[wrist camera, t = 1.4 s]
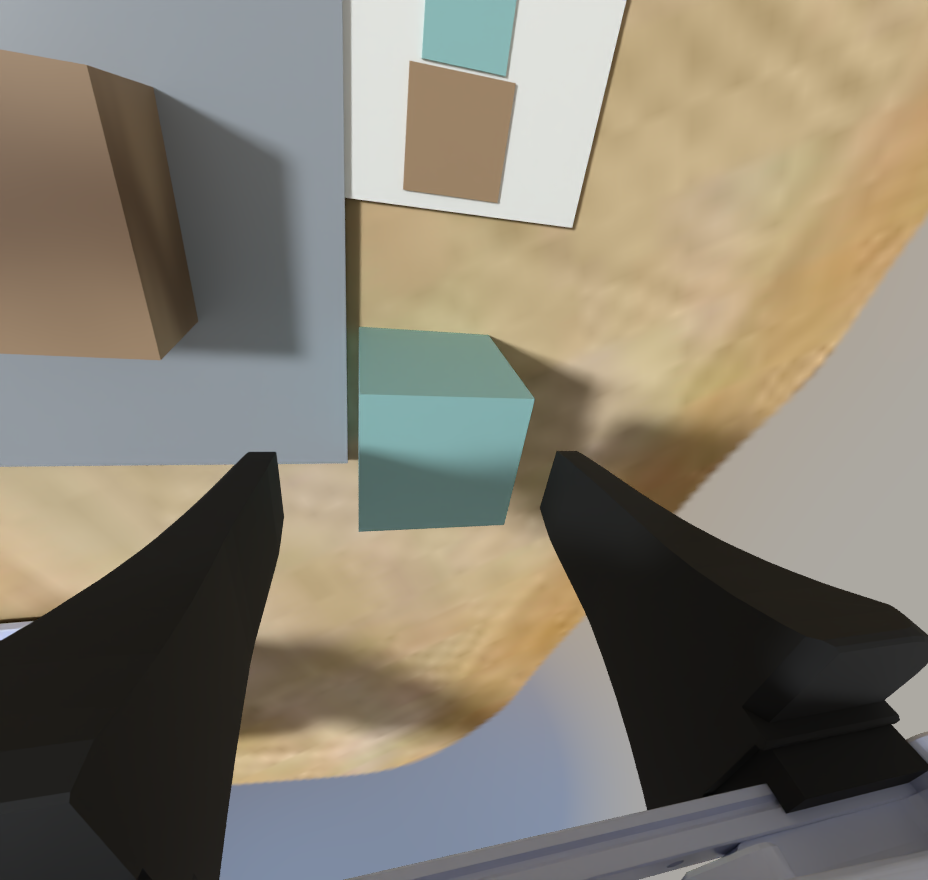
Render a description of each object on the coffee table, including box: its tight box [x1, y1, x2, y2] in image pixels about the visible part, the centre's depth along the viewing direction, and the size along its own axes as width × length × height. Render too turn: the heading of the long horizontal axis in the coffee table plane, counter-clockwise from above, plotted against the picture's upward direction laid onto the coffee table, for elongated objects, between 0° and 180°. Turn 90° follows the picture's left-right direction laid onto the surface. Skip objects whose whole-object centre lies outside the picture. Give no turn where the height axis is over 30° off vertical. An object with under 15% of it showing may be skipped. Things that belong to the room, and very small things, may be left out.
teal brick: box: [359, 327, 535, 532], centre depth 14 cm, size 4×4×5 cm
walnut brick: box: [0, 49, 198, 360], centre depth 10 cm, size 6×6×3 cm
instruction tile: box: [342, 0, 626, 228], centre depth 11 cm, size 6×8×1 cm
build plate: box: [0, 0, 348, 467], centre depth 11 cm, size 14×14×1 cm
